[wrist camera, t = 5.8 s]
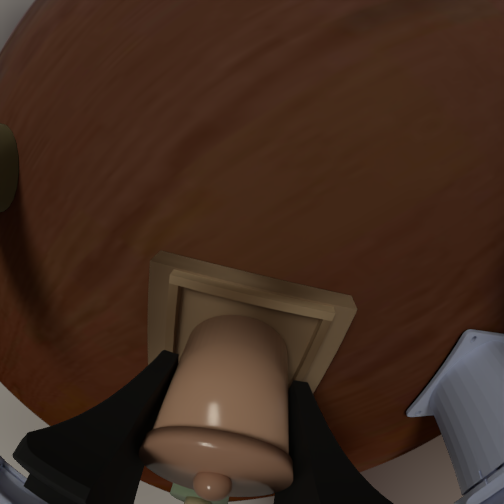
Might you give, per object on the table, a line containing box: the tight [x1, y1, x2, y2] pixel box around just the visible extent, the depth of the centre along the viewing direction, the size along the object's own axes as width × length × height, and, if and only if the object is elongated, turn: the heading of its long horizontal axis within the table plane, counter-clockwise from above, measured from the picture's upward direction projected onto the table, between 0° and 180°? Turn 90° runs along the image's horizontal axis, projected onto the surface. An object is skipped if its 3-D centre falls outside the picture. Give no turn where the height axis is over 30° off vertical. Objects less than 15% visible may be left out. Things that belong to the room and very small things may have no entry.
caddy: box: [148, 251, 357, 393], centre depth 15 cm, size 9×21×2 cm, turn 167°
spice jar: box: [139, 315, 293, 501], centre depth 9 cm, size 5×5×7 cm
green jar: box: [170, 483, 229, 504], centre depth 15 cm, size 4×4×5 cm
